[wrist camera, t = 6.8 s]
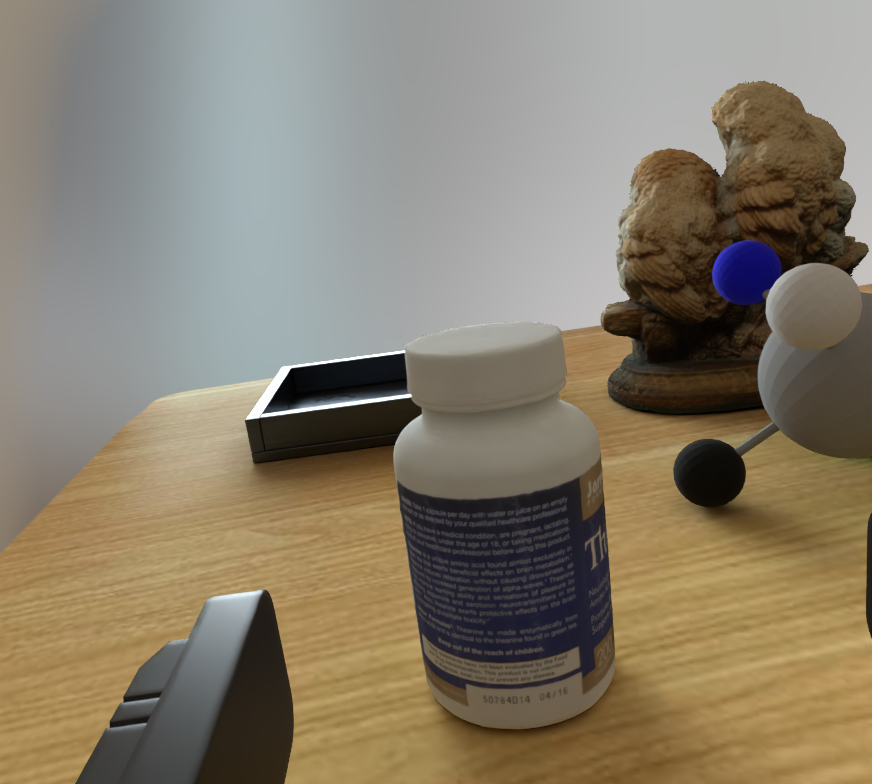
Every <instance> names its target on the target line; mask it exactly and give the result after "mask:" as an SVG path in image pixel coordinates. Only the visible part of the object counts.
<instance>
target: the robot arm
mask: <svg viewBox="0 0 872 784" xmlns="http://www.w3.org/2000/svg"><path fill="white" fill-rule="evenodd" d="M866 617H867V624H868V628H869V632H870V635H871V638H872V513H871V515H870V517H869V521H868V530H867V587H866ZM123 698H124V702H123V703H120V704H119V706H118V708H117V710H116V711H115V713H114V715H113V717H112V719H111V720H110V728H107V729H105V731H104V733H103V735H102V737H101V738H100V740H99V742H98V744H97V746H96V747H95V749H94V751H93V753H92V755H91V756H90V758H89V760H88V762H87V764H86V765H85V767H84V769H83V771H82V773H81V774H80V776H79V778H78V780H77V782H76V783H75V784H284V783H285V778H286V773H287V768H288V763H289V758H290V753H291V748H292V742H293V730H294V716H293V702H292V694H291V689H290V684H289V679H288V674H287V669H286V664H285V659H284V654H283V649H282V645H281V640H280V635H279V630H278V625H277V620H276V615H275V610H274V606H273V602H272V599H271V596H270V594H269V592H268V591H267V590H259V591H252V592H244V593H237V594H230V595H223V596H215V597H210V598H208V599H207V601H206V602H205V604H204V606H203V608H202V611H201V613H200V615H199V617H198V619H197V621H196V623H195V625H194V627H193V629H192V631H191V633H190V635H189V637H188V639H183V640H176V641H169V642H168V643H167V644H166V645H165V646H164V647H163V648H161V649H160V650H159V651H158V652H157V653H156V654H155V655H154V656H153V657H151V658H150V659H149V660H148V661H147V662H146V663H145V664H144V665H142V666H141V667H140V668H139V670H138V672H137V674H136V675H135V677H134V679H133V681H132V683H131V684H130V686H129V688H128V690H127V692H126V693H125V695H124V697H123Z"/></svg>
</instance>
